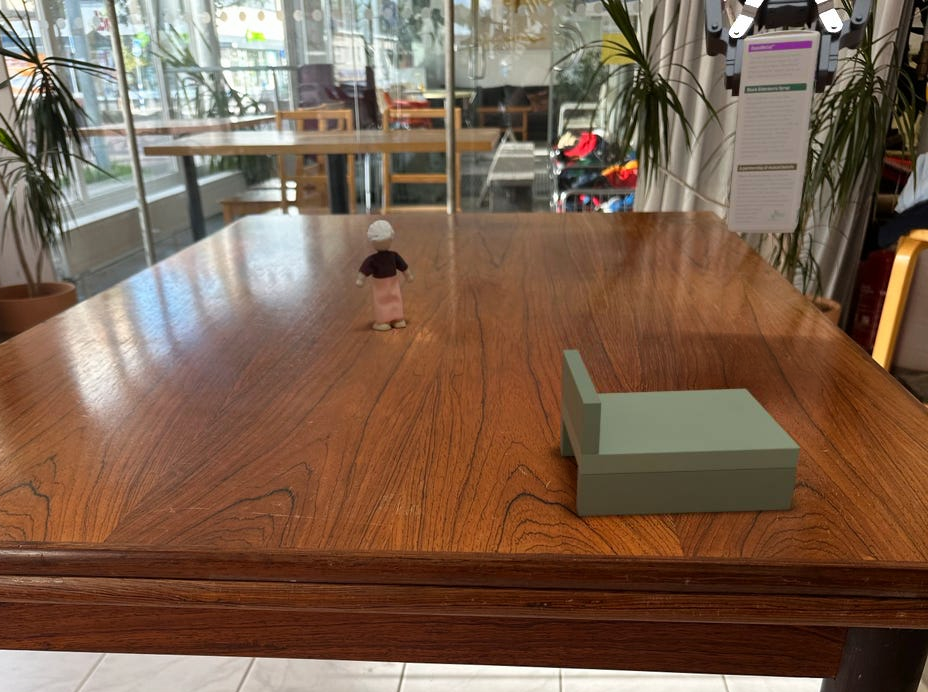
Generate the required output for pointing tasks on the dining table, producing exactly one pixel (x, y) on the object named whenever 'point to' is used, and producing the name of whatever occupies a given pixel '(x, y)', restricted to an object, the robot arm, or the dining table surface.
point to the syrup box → (772, 130)
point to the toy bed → (672, 449)
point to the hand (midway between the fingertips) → (778, 86)
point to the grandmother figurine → (384, 277)
